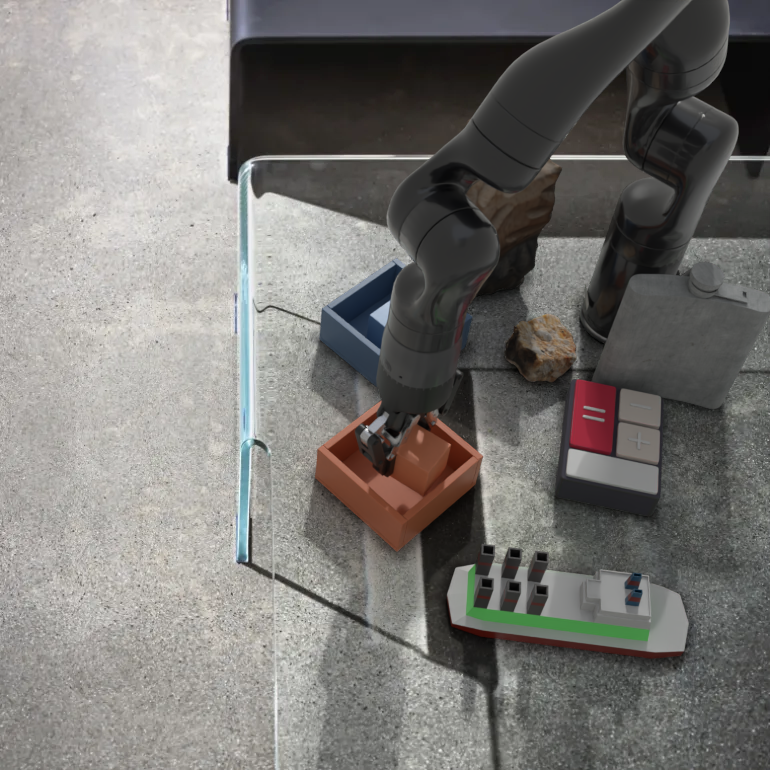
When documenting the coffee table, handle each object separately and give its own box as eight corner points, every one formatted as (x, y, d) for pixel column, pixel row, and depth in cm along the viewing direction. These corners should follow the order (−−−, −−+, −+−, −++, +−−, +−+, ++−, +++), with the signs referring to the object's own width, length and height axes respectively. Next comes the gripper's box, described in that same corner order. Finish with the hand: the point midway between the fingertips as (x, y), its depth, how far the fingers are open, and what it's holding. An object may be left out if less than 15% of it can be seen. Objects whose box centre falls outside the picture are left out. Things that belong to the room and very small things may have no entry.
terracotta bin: (394, 415, 133) (399, 386, 129) (475, 484, 128) (483, 456, 124) (314, 477, 127) (317, 448, 122) (397, 552, 122) (402, 524, 118)
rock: (541, 399, 137) (600, 350, 140) (535, 366, 132) (596, 316, 135) (491, 364, 142) (549, 318, 145) (484, 331, 138) (544, 284, 141)
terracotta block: (410, 447, 125) (415, 422, 122) (445, 468, 124) (451, 444, 120) (387, 475, 123) (391, 450, 119) (423, 496, 121) (428, 473, 118)
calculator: (666, 392, 134) (663, 495, 124) (655, 415, 137) (652, 518, 127) (572, 373, 135) (562, 474, 125) (564, 396, 138) (553, 497, 128)
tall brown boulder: (426, 231, 152) (446, 110, 136) (519, 230, 154) (550, 109, 138) (440, 304, 144) (464, 184, 129) (538, 301, 146) (573, 182, 130)
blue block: (391, 320, 141) (395, 295, 138) (418, 342, 139) (423, 317, 136) (365, 339, 139) (369, 314, 135) (392, 361, 137) (396, 336, 134)
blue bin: (391, 288, 145) (396, 257, 141) (466, 346, 140) (473, 316, 136) (319, 339, 139) (321, 308, 135) (394, 402, 134) (398, 372, 130)
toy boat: (448, 564, 122) (459, 525, 116) (683, 594, 122) (706, 557, 116) (443, 631, 117) (455, 595, 111) (688, 663, 117) (712, 628, 111)
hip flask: (591, 392, 138) (635, 277, 122) (591, 366, 140) (634, 250, 125) (723, 410, 138) (784, 298, 122) (720, 384, 140) (780, 270, 125)
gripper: (395, 419, 105) (378, 518, 119) (497, 340, 112) (470, 441, 126) (338, 371, 108) (327, 472, 121) (440, 296, 115) (420, 400, 128)
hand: (400, 456), depth 123 cm, fingers closed on terracotta block, 4 cm apart
